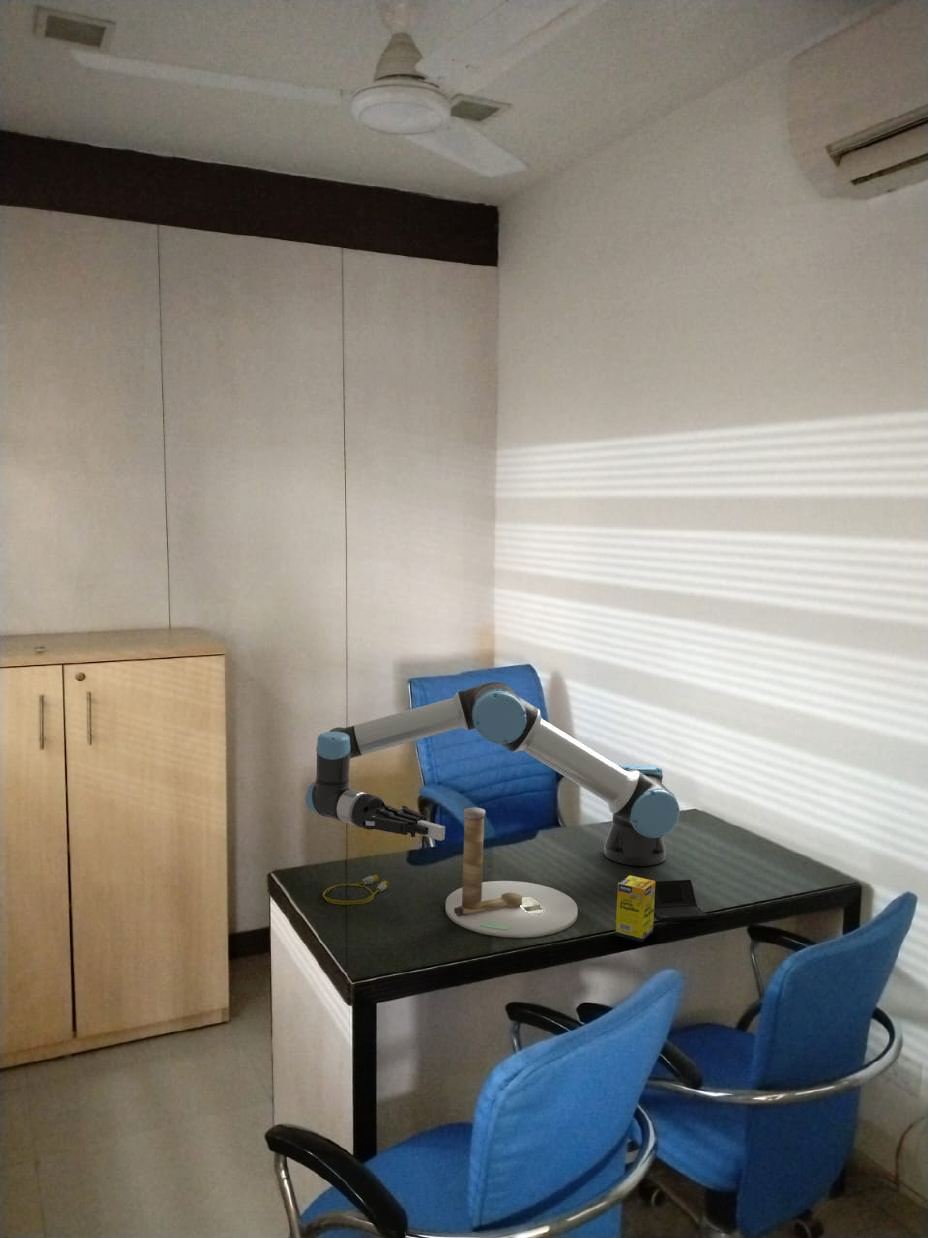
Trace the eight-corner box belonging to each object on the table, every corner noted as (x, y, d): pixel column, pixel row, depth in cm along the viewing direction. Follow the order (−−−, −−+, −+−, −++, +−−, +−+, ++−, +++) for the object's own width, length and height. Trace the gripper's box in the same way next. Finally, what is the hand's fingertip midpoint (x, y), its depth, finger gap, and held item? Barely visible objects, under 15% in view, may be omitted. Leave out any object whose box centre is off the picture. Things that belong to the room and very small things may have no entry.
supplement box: (642, 943, 198) (645, 889, 197) (614, 935, 201) (616, 883, 200) (653, 933, 203) (656, 880, 202) (626, 926, 206) (628, 874, 205)
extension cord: (400, 900, 218) (400, 891, 218) (330, 910, 211) (331, 901, 211) (380, 881, 229) (380, 872, 229) (313, 890, 222) (314, 881, 222)
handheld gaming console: (666, 918, 207) (657, 871, 212) (648, 928, 212) (639, 882, 218) (712, 920, 211) (702, 873, 216) (693, 929, 217) (684, 884, 222)
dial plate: (574, 889, 226) (574, 883, 226) (580, 941, 198) (581, 934, 198) (450, 883, 227) (450, 877, 227) (439, 933, 200) (439, 927, 199)
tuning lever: (514, 897, 215) (517, 800, 213) (525, 904, 212) (529, 806, 210) (450, 911, 207) (453, 810, 205) (461, 918, 203) (464, 816, 201)
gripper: (381, 820, 230) (461, 844, 216) (340, 832, 220) (421, 858, 206) (382, 788, 230) (462, 810, 215) (341, 799, 219) (422, 822, 205)
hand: (442, 833), depth 210 cm, fingers closed
